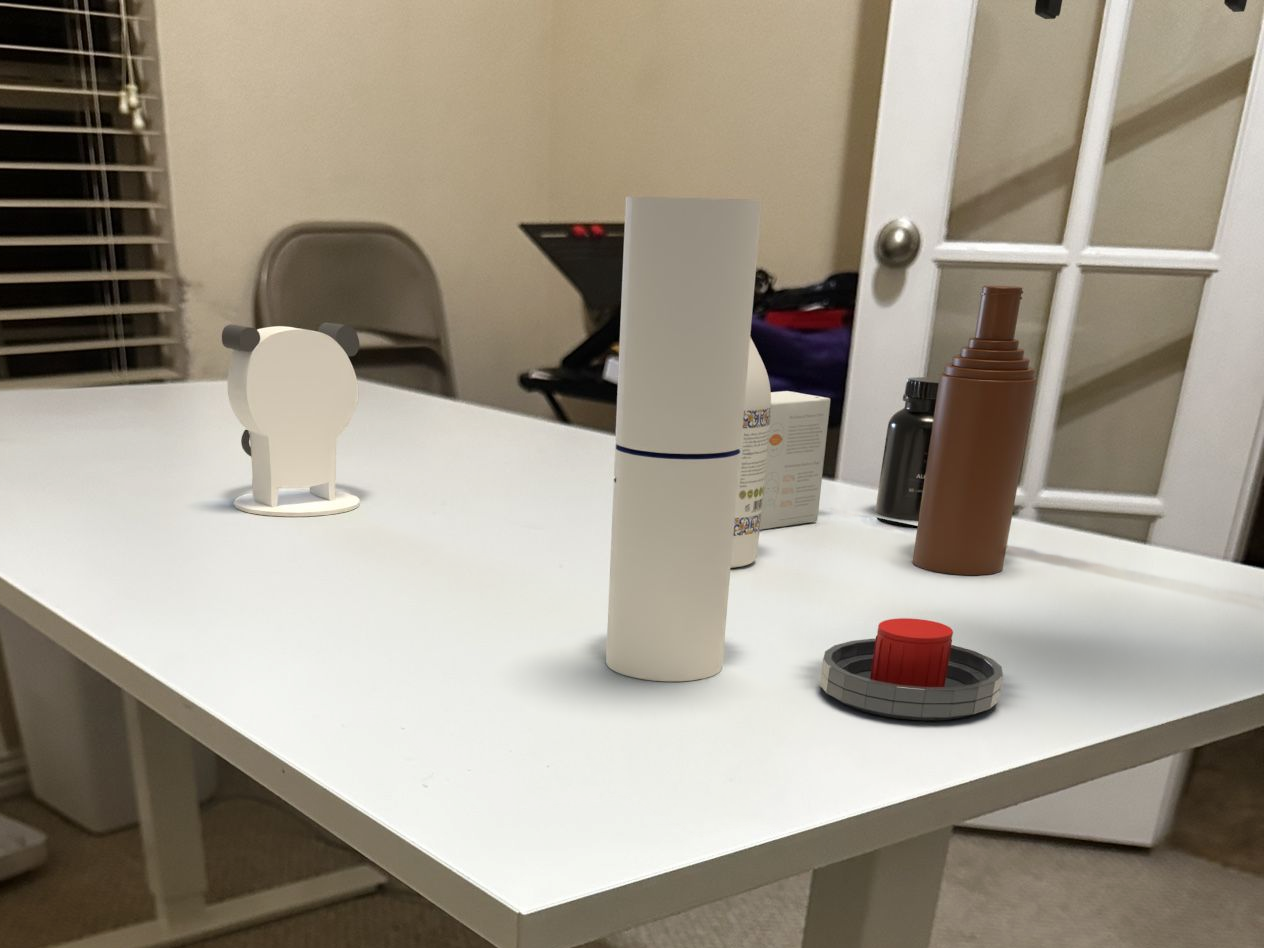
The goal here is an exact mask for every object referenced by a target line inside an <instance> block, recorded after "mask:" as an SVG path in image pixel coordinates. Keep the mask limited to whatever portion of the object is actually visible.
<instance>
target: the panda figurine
mask: <svg viewBox="0 0 1264 948" xmlns="http://www.w3.org/2000/svg"><path fill="white" fill-rule="evenodd" d="M221 344H222V346H223V347H224V348H226V349H230V350H232V353H231V357H230V360H229V361H230V362H229V366H228V371H227V395H228V400H229V404H230V406H231V408H232V411H233V414H234V416H235V417H236V419H237V420H238V421H239V423H240V424H241V425H242V426H243V427H244V428H245V429H244V431H243V432H242V434H241V437H240V438H241V439H240V442H241V447H242V450H243V451H244V452H245V454H246V455H248V456H249V457H250V458H251V473H252V479H251V480H252V482H251V485H252V487H251V488H252V492H250V493H246V494H243V495H240V496H238V497H236V498H235V499H234V500H233V502H234V503H233V504H234V507H235V508H236V509H237V510H239V511H242V512H245V513H249V514H254V515H262V516H269V517H270V516H272V517H316V516H317V517H319V516H329V515H335V514H341V513H346V512H349V511H353V510H355V509H357V508H359V507H360V505H361V500H360V498H359V497H358V496H356V495H354V494H350V493H348V492H343V491H337V490H336V480H337V479H336V478H337V475H336V474H337V473H336V472H337V445H338V444H337V441H338V437H339V436H340V435H341V434H342V433H343V432H344V431H345V429H346V428H347V427H348V426H349V424H350V423H351V421H352V419H353V417H354V414H355V412H356V410H357V406H358V402H359V397H360V395H359V393H360V392H359V383H358V378H357V375H356V371H355V369H354V366H353V364H352V362H351V360H350V358H349V357H354V356H356V355H357V353H358V352H359V349H360V339H359V336H358V333H357V331H356V330H355V329H354V328H353V327H352V326H349V325H348V324H340V323H335V322H334V323H333V322H328V321H327V322H323V323H321V324H320V326H319V327H318V329H317V331H316V330H311V329H306V328H297V327H293V326H283V325H278V326H267V327H262V328H261V327H260V328H257V329H256V328H255V327H251V326H244V325H238V324H227V325H225V326H224V327H223V329H222V332H221ZM279 488H281V489H279Z"/></svg>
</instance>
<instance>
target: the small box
mask: <svg viewBox="0 0 1264 948" xmlns="http://www.w3.org/2000/svg"><path fill="white" fill-rule="evenodd" d="M830 408H831V398H830V397H824V396H819V395H813V394H806V393H801V392H796V391H789V390H781V391H772V392H771V413H770V424H769V435H768V446H767V457H766V468H765V478H764V489H763V500H762V511H761V522H760V530H759V531H761V530H769V529H773V528H775V529H776V528H782V527H787V526H788V527H789V526H795V525H802V524H808V523H815V522H817V521H818V519H819V508H820V499H821V490H822V480H823V473H824V465H825V464H824V462H825V453H826V444H827V435H828V425H829V416H830Z"/></svg>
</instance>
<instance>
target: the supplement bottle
mask: <svg viewBox="0 0 1264 948" xmlns="http://www.w3.org/2000/svg"><path fill="white" fill-rule="evenodd" d="M939 378H940V377H926V376H925V377H924V376H923V377H922V376H921V377H920V376H919V377H918V376H917V377H916V376H915V377H914V376H913V377H907V378H906V382H905V388H904V394H903V395H902V401H903V402H904V407H903V408H902V409H900V410H898V411H896V412H895V413H894V414H893V415H892V416H891V418H890V419H889V420H888V423H887V429H886V434H885V435H886V436H885V443H884V449H883V456H882V462H881V470H880V474H879V475H880V476H879V483H878V489H877V496H876V504H875V511H874V512H875V513H876V514H877V515H879V516H882V517H885V518H882V517H878V516H877V517H875V518H876V520H877V521H878V522H880V523H882V524H885V525H888V526H893V527H898V528H905V529H914V530H915V529H916V530H917V527H918V525H916V524H911V523H906V522H901V521H912V522H918V520H919V514H920V507H921V500H922V493H923V486H924V480H925V473H926V466H927V459H928V453H929V446H930V439H931V432H932V426H933V419H934V412H935V405H936V398H937V392H938V385H939ZM887 518H889V519H887ZM892 519H894V520H892ZM896 520H901V521H896Z"/></svg>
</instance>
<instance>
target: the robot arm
mask: <svg viewBox="0 0 1264 948" xmlns="http://www.w3.org/2000/svg"><path fill="white" fill-rule="evenodd" d="M1247 3H1248V0H1224V2H1223V4H1224V5H1225V6H1226V7H1227V8H1228V9H1229V10H1231V11H1232V13H1240V12H1241V13H1243V12H1245V10H1246V7H1247ZM1062 4H1063V0H1035V5H1034V14H1035V15H1037V16H1039V17H1040V18H1042V19H1044V20H1055V19H1056V18H1057V17H1059V16H1060V15H1061V10H1062Z"/></svg>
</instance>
